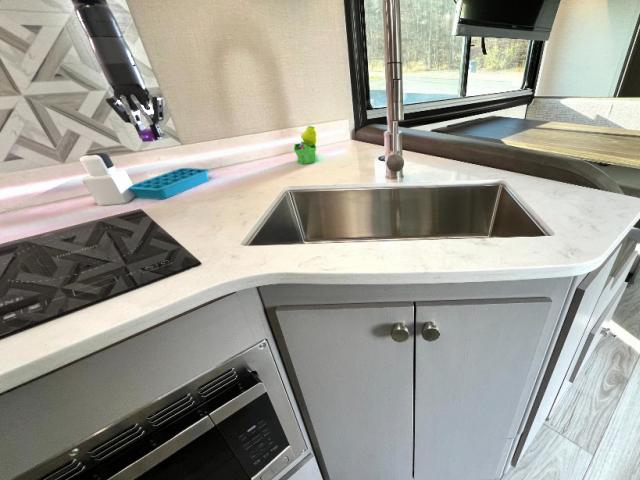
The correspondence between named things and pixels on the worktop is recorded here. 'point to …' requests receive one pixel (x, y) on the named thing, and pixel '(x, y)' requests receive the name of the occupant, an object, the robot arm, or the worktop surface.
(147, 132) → the candy
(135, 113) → the robot arm
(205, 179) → the ice cube tray
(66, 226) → the worktop surface
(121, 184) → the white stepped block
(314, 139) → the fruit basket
